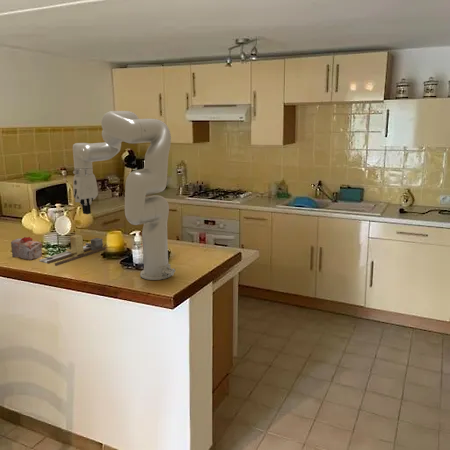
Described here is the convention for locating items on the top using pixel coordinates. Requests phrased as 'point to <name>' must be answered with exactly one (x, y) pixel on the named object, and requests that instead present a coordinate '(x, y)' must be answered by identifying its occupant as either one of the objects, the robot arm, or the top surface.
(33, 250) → the food item
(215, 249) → the top surface
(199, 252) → the top surface
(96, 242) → the grey slide rail
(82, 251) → the sliding head
